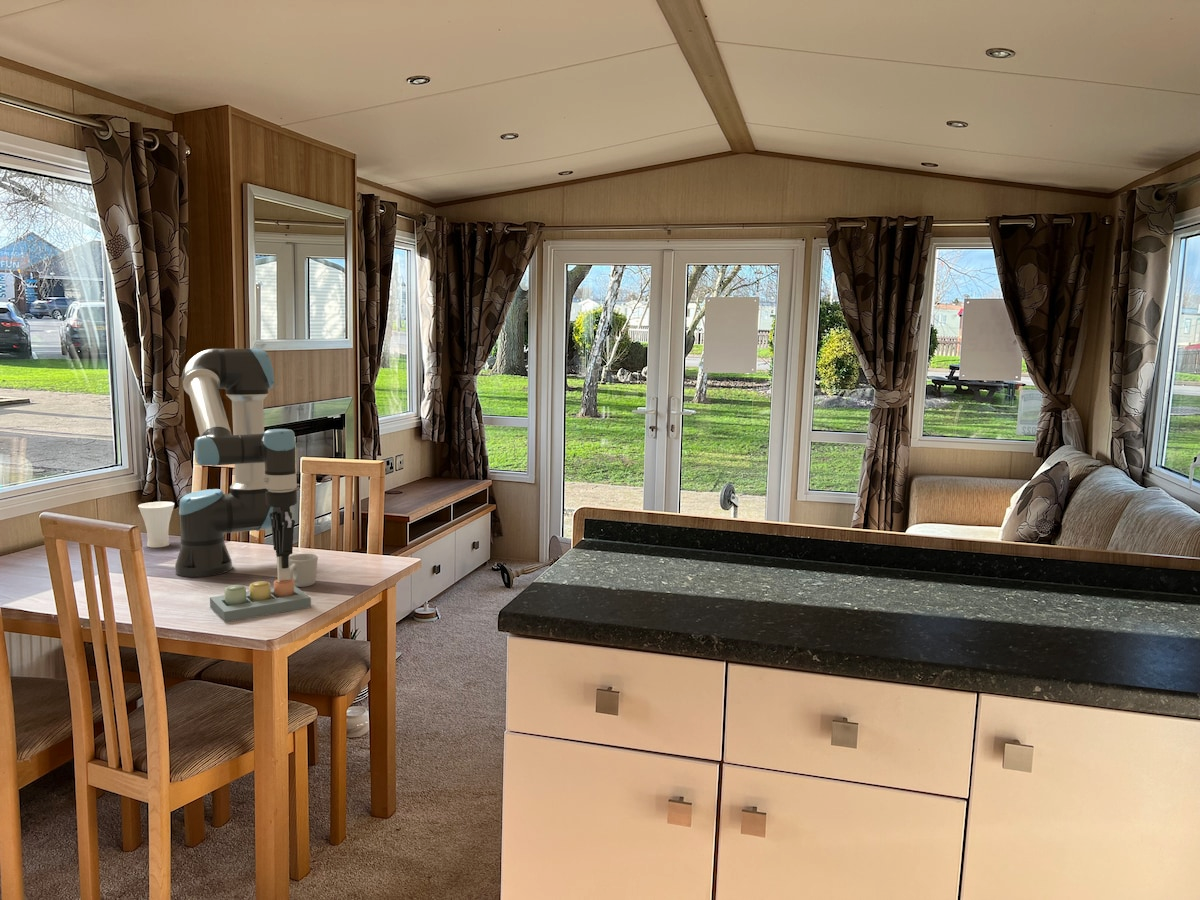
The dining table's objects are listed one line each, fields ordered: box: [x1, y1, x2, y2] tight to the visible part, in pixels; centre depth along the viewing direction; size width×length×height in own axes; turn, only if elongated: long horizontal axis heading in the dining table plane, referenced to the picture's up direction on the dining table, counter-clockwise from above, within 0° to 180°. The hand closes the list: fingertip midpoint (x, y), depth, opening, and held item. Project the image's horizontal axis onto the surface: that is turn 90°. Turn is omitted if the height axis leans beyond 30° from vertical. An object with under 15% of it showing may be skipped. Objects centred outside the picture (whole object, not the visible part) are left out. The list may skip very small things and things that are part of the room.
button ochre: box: [249, 580, 272, 602], centre depth 223 cm, size 5×5×4 cm
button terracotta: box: [273, 578, 294, 598], centre depth 226 cm, size 5×5×4 cm
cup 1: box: [138, 501, 175, 548], centre depth 283 cm, size 10×10×14 cm
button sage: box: [224, 584, 247, 606], centre depth 219 cm, size 5×5×4 cm
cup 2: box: [289, 553, 319, 588], centre depth 242 cm, size 11×8×8 cm
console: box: [209, 586, 312, 623], centre depth 223 cm, size 14×21×3 cm, turn 127°
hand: (283, 579), depth 226 cm, fingers closed
